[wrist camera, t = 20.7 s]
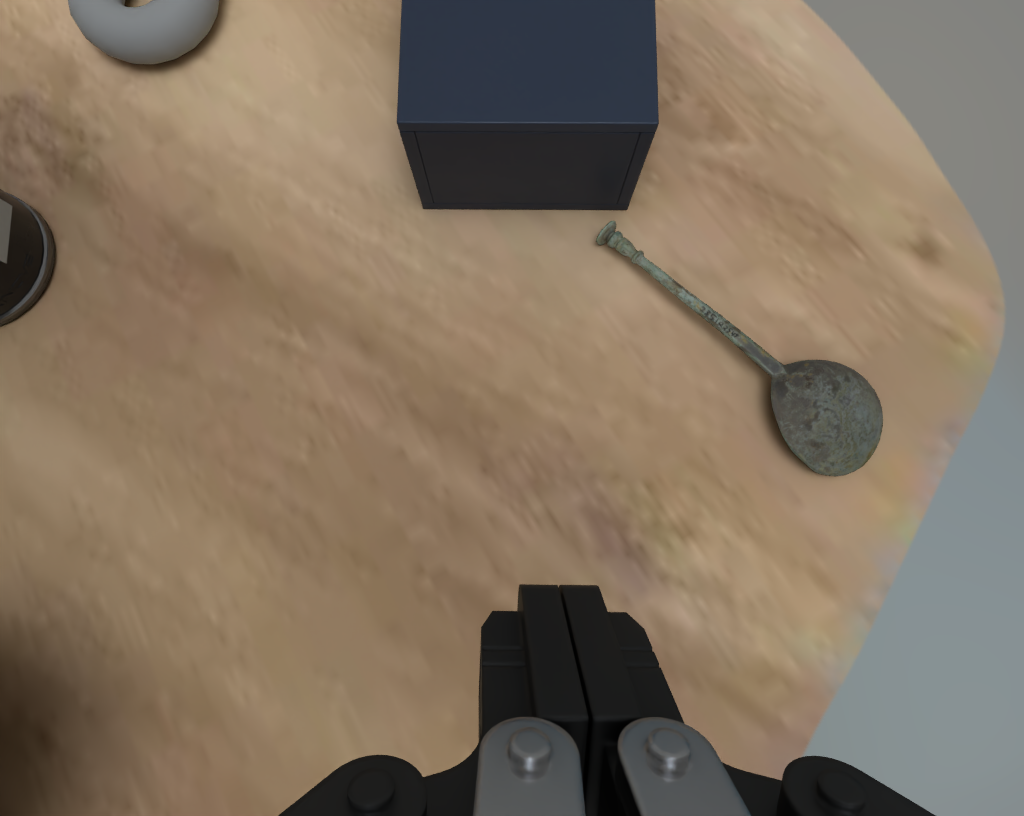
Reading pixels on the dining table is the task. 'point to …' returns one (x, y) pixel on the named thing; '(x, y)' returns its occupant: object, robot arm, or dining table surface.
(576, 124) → the lid
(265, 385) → the dining table surface
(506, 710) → the robot arm
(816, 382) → the soupspoon
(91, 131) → the dining table surface
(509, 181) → the chest
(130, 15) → the donut
